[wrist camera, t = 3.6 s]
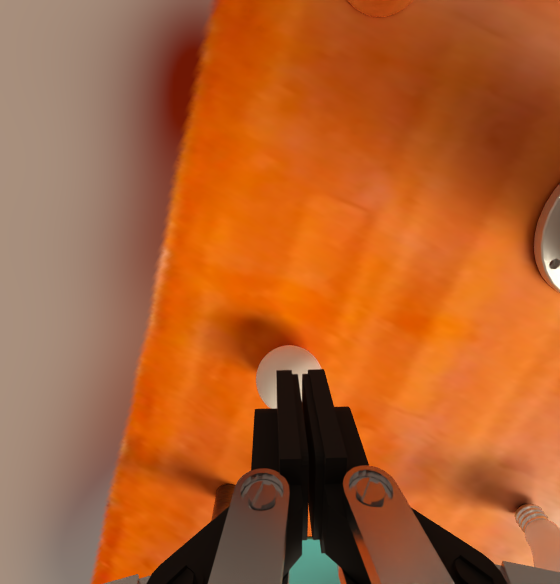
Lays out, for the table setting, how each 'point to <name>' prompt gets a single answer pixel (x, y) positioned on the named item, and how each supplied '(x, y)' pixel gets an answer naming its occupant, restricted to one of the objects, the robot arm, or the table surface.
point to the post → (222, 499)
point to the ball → (282, 360)
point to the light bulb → (540, 536)
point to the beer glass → (379, 6)
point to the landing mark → (313, 566)
